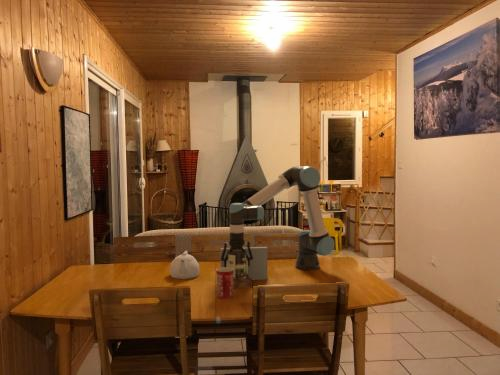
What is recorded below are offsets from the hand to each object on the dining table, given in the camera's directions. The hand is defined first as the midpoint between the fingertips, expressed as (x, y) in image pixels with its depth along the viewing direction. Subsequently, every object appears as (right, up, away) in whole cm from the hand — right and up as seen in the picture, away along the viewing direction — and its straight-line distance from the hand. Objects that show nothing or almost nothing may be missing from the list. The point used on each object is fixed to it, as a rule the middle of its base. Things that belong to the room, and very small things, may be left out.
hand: (236, 272), depth 234 cm
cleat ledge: (0, -6, 0) cm, 6 cm away
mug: (-5, -8, -22) cm, 24 cm away
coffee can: (0, -2, 0) cm, 2 cm away
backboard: (+4, -6, +9) cm, 11 cm away
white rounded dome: (-31, -5, +18) cm, 36 cm away
